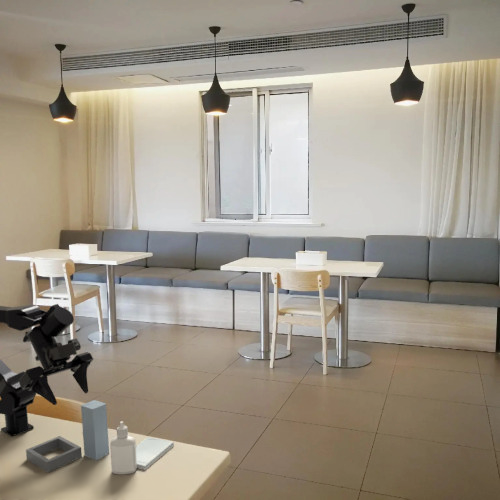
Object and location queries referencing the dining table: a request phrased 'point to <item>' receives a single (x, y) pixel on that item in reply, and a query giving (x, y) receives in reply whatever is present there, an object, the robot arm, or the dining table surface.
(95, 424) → the block
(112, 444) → the eye dropper bottle
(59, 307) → the robot arm
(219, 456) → the dining table surface
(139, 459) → the hard drive
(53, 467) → the frame
